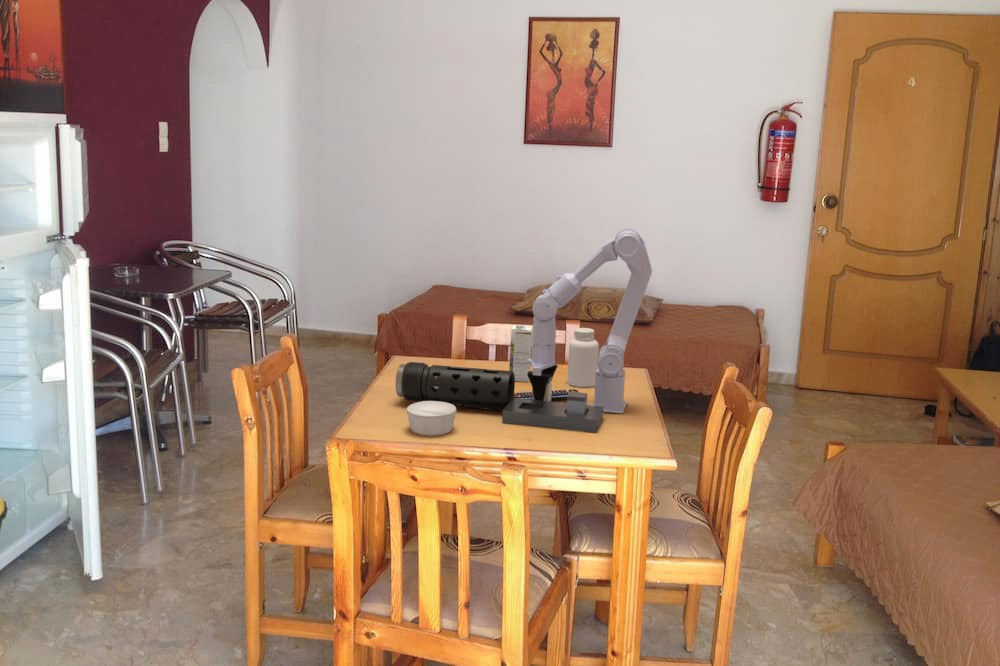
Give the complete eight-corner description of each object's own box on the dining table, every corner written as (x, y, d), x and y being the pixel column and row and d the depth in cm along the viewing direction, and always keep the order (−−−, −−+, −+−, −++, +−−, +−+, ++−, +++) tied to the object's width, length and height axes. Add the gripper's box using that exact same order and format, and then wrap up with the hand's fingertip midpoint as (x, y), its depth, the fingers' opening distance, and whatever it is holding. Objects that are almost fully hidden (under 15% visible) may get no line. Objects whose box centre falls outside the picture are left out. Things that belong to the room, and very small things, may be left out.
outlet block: (513, 409, 231) (513, 397, 230) (603, 418, 226) (603, 406, 225) (502, 422, 221) (502, 410, 220) (595, 432, 215) (596, 420, 215)
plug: (535, 401, 239) (536, 374, 237) (550, 402, 238) (552, 375, 236) (531, 405, 235) (532, 378, 233) (547, 407, 234) (548, 379, 232)
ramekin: (411, 439, 208) (411, 416, 207) (402, 424, 218) (402, 402, 217) (461, 436, 211) (461, 413, 210) (449, 421, 221) (450, 399, 220)
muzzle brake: (506, 417, 225) (508, 375, 223) (394, 407, 231) (394, 366, 229) (514, 406, 235) (515, 365, 232) (405, 396, 240) (406, 357, 238)
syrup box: (509, 376, 262) (510, 324, 258) (530, 376, 261) (532, 325, 258) (508, 381, 256) (510, 329, 253) (530, 382, 256) (532, 329, 253)
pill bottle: (564, 386, 253) (566, 331, 250) (571, 378, 260) (573, 325, 257) (593, 389, 251) (596, 334, 247) (599, 381, 258) (602, 328, 255)
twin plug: (569, 420, 224) (570, 391, 223) (586, 421, 223) (587, 393, 222) (566, 425, 220) (567, 396, 219) (583, 426, 220) (584, 397, 218)
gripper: (534, 336, 241) (532, 387, 244) (521, 348, 227) (519, 402, 230) (561, 338, 239) (559, 390, 242) (549, 351, 225) (547, 405, 228)
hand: (541, 396), depth 236 cm, fingers open, 6 cm apart
